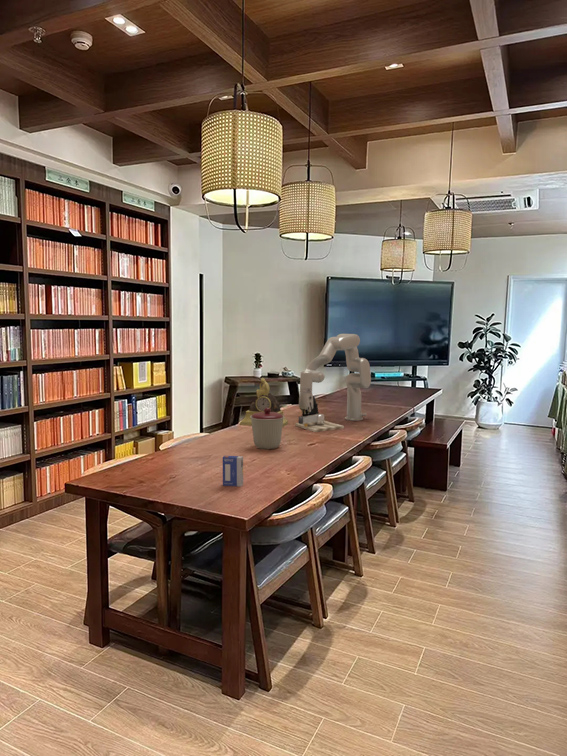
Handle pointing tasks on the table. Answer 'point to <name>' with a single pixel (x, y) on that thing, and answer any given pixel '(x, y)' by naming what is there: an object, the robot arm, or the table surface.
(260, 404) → the decorative clock
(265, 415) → the canister
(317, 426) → the dial base
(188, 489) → the table surface
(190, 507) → the table surface
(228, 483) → the walkman
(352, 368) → the robot arm
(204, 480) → the table surface
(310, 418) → the capstan lever
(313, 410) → the black box
